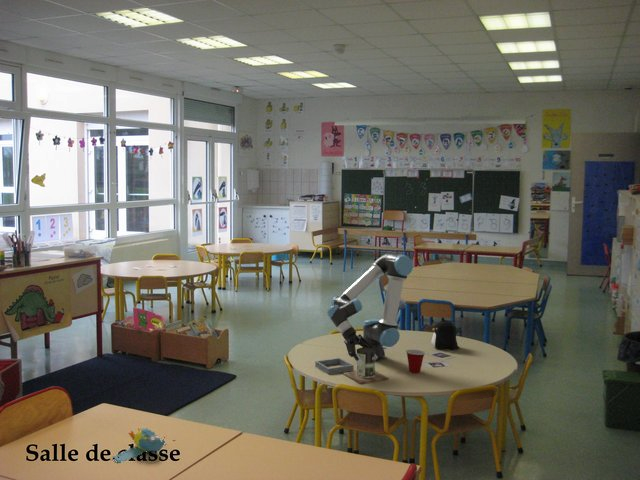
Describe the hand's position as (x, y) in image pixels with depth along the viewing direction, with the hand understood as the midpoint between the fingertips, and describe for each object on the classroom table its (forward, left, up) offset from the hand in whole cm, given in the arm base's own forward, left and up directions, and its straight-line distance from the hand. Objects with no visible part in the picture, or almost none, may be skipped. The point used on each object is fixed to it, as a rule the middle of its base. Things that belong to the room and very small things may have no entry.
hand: (369, 362), depth 338 cm
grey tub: (+9, -23, -9) cm, 26 cm away
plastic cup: (-29, +2, -9) cm, 30 cm away
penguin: (-77, -31, -9) cm, 84 cm away
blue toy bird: (+127, +39, -9) cm, 133 cm away
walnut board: (+1, -2, -9) cm, 9 cm away
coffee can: (+1, -2, -8) cm, 8 cm away
